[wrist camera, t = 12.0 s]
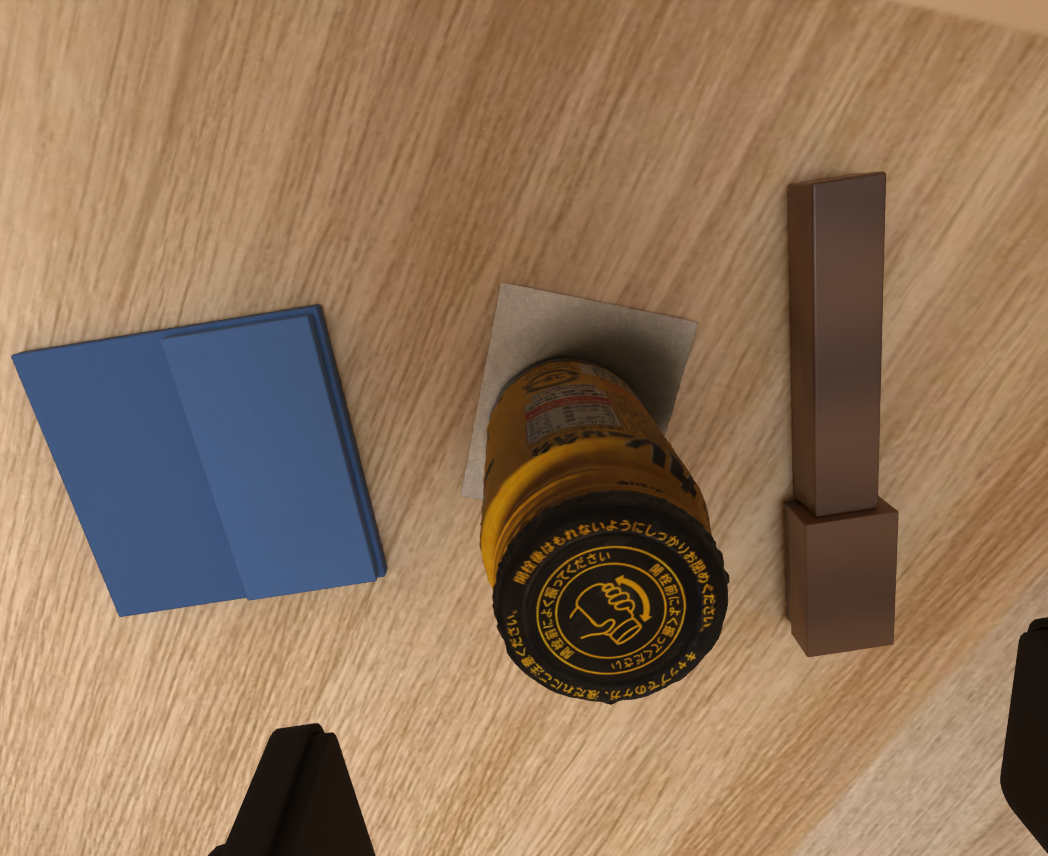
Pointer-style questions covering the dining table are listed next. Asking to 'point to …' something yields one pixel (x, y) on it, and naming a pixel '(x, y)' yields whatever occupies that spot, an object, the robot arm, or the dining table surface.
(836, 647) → the brown bar
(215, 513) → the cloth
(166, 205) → the dining table surface
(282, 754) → the robot arm
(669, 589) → the condiment
